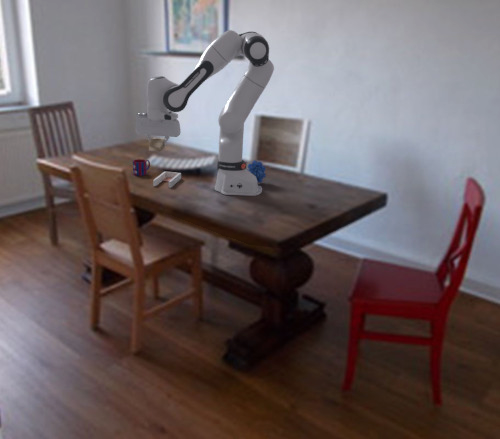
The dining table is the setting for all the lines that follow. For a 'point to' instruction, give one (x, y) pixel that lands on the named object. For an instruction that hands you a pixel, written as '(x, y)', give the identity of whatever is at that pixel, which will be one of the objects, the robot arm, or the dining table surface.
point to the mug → (140, 167)
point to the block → (156, 144)
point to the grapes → (257, 170)
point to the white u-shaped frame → (167, 178)
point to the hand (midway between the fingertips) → (158, 145)
